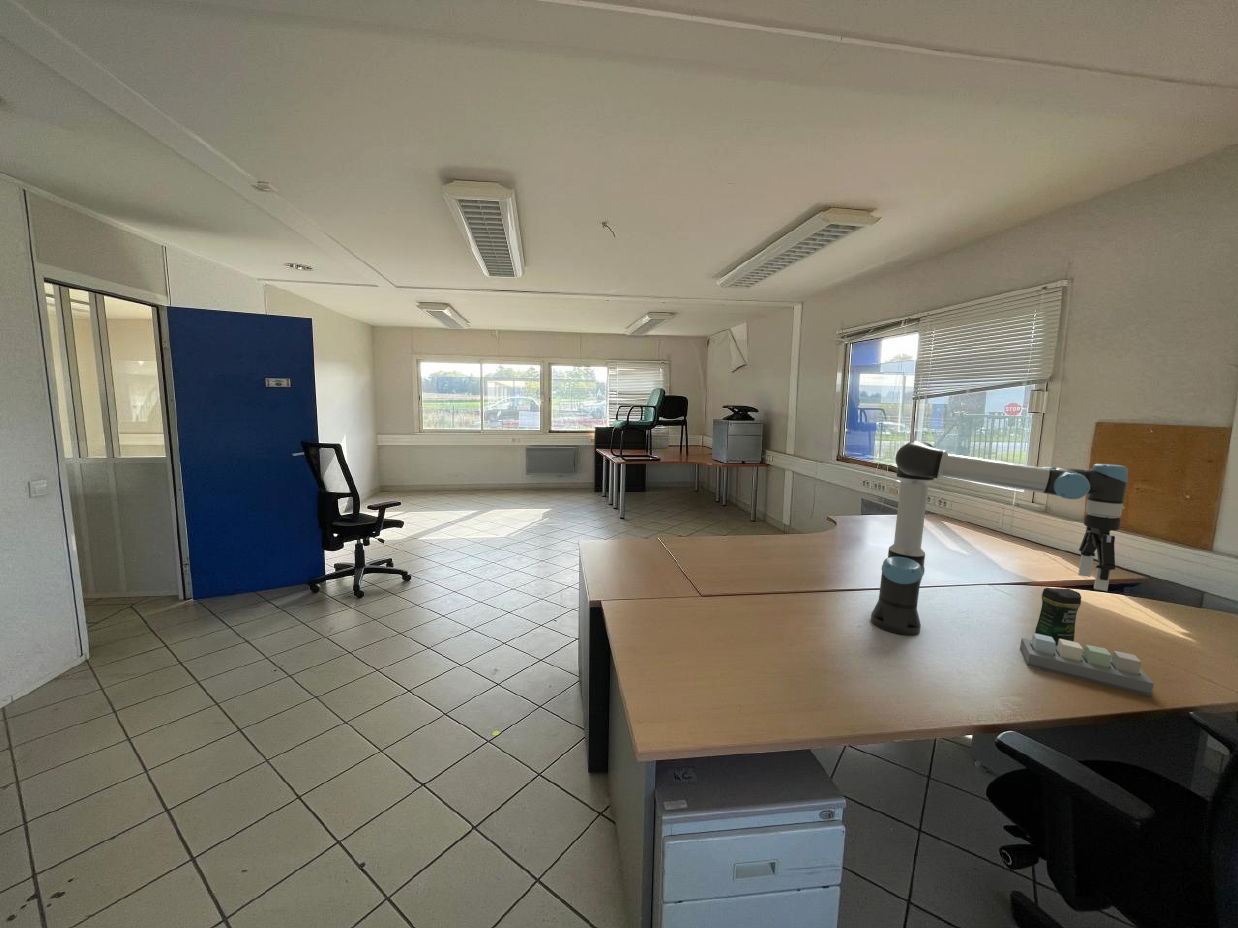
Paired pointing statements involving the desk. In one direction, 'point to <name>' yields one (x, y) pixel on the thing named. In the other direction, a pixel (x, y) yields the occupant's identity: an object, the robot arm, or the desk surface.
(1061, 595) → the coffee jar
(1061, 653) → the key cream
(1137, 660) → the key grey
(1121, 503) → the robot arm
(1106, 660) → the key sage
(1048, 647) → the key blue
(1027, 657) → the keypad
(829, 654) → the desk surface
